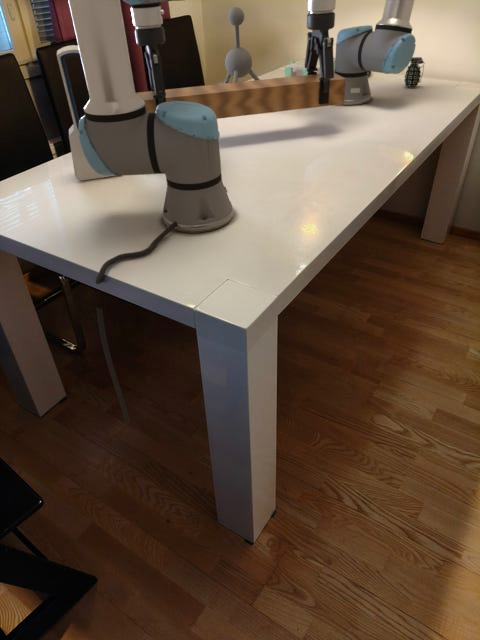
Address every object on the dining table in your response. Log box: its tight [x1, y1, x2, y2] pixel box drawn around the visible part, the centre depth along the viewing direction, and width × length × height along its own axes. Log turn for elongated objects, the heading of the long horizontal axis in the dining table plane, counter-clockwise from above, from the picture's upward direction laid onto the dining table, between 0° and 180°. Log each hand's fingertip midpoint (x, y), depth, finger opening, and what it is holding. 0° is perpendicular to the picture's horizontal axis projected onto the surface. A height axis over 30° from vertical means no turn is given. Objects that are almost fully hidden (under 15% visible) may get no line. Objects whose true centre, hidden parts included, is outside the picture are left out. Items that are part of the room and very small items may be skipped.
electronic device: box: [56, 44, 110, 181], centre depth 122 cm, size 12×8×30 cm, turn 105°
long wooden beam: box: [135, 73, 346, 120], centre depth 140 cm, size 60×10×7 cm, turn 104°
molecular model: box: [218, 6, 261, 84], centre depth 175 cm, size 24×22×30 cm
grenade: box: [404, 56, 426, 89], centre depth 185 cm, size 7×6×10 cm
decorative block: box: [284, 57, 335, 77], centre depth 206 cm, size 26×6×20 cm
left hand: (161, 117), depth 138 cm, fingers closed on long wooden beam, 10 cm apart
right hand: (317, 99), depth 146 cm, fingers closed on long wooden beam, 10 cm apart
